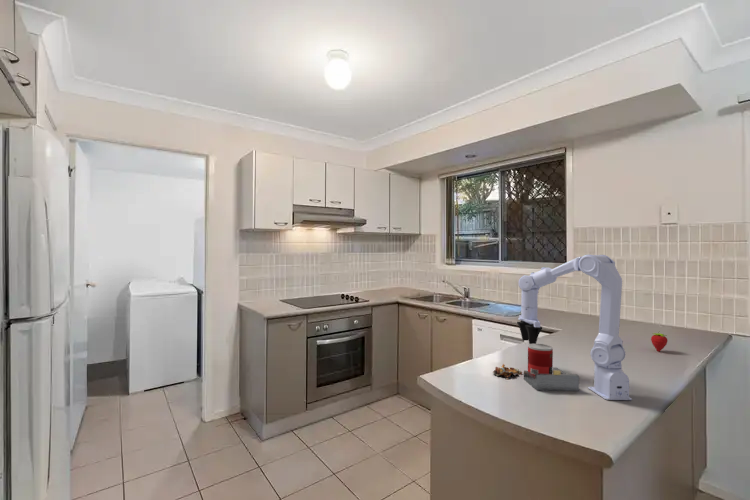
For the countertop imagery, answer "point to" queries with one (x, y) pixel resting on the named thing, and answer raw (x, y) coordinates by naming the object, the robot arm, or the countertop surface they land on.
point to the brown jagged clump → (506, 371)
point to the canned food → (540, 359)
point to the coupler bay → (553, 381)
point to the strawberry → (659, 341)
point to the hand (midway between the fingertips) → (528, 342)
